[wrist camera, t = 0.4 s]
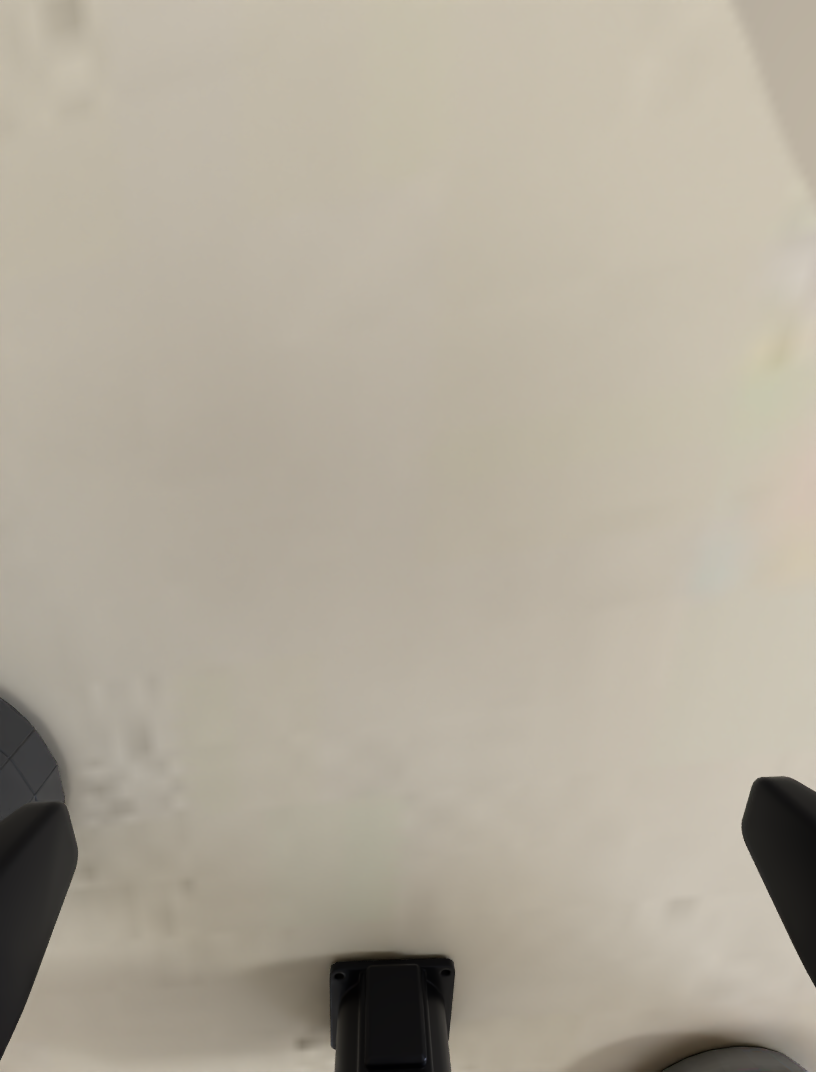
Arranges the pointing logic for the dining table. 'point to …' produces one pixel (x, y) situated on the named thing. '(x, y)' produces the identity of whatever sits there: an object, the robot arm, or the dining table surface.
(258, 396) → the dining table surface
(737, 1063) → the pie
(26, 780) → the pan
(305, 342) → the dining table surface
